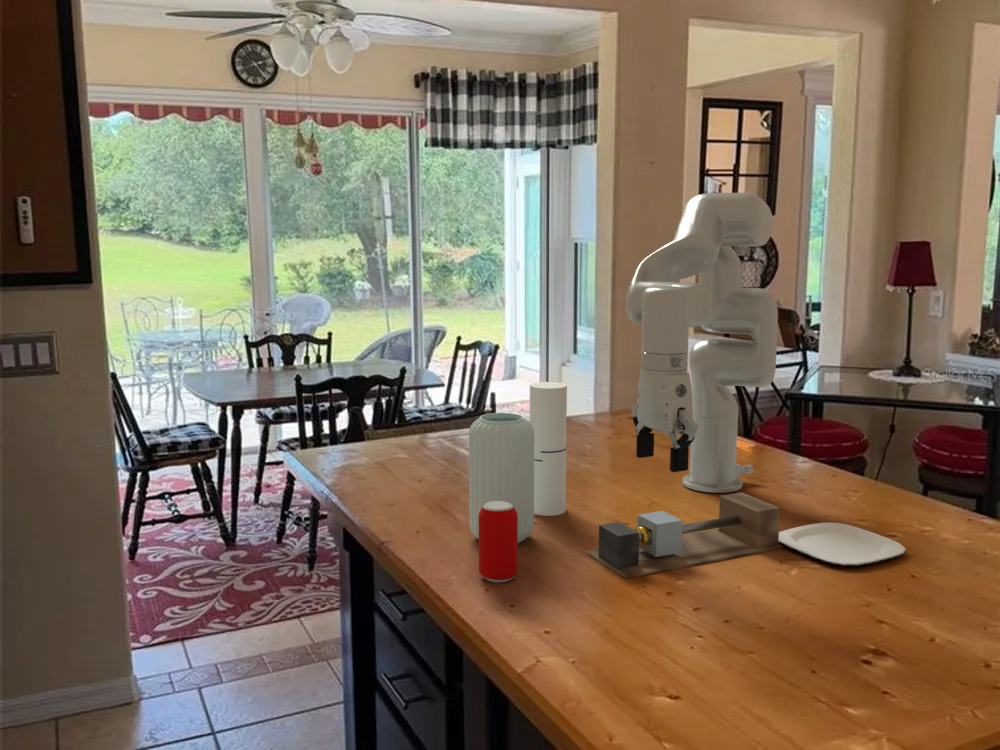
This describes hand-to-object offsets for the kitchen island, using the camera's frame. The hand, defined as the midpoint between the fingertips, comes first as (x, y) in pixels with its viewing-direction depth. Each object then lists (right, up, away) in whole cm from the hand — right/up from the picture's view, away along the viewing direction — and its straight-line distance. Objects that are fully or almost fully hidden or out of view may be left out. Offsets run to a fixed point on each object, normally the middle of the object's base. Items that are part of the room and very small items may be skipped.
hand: (661, 463), depth 149 cm
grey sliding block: (0, -15, +2) cm, 15 cm away
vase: (-27, -15, +11) cm, 32 cm away
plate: (+32, -16, +6) cm, 36 cm away
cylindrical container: (-18, -12, +27) cm, 34 cm away
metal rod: (+4, -13, +4) cm, 14 cm away
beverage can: (-27, -18, -6) cm, 33 cm away
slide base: (+5, -16, +5) cm, 17 cm away
